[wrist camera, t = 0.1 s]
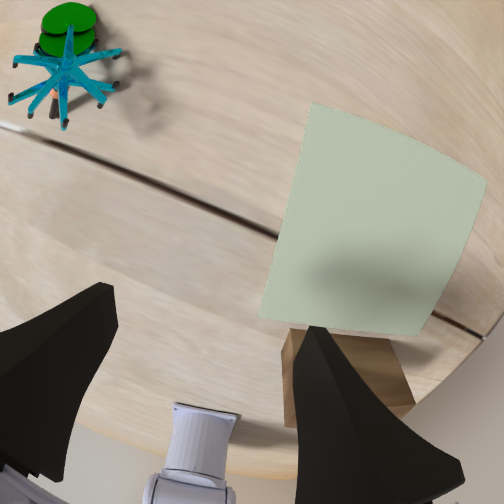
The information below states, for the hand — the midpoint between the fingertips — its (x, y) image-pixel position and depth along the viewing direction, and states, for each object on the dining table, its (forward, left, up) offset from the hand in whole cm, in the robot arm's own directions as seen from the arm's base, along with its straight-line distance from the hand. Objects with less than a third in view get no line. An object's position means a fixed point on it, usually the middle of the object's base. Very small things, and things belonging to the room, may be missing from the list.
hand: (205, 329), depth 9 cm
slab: (-9, -11, -10) cm, 18 cm away
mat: (+1, -11, -10) cm, 15 cm away
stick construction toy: (+11, +14, -10) cm, 20 cm away
